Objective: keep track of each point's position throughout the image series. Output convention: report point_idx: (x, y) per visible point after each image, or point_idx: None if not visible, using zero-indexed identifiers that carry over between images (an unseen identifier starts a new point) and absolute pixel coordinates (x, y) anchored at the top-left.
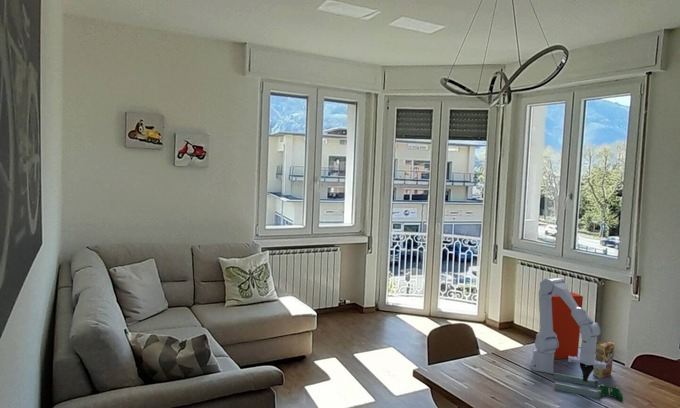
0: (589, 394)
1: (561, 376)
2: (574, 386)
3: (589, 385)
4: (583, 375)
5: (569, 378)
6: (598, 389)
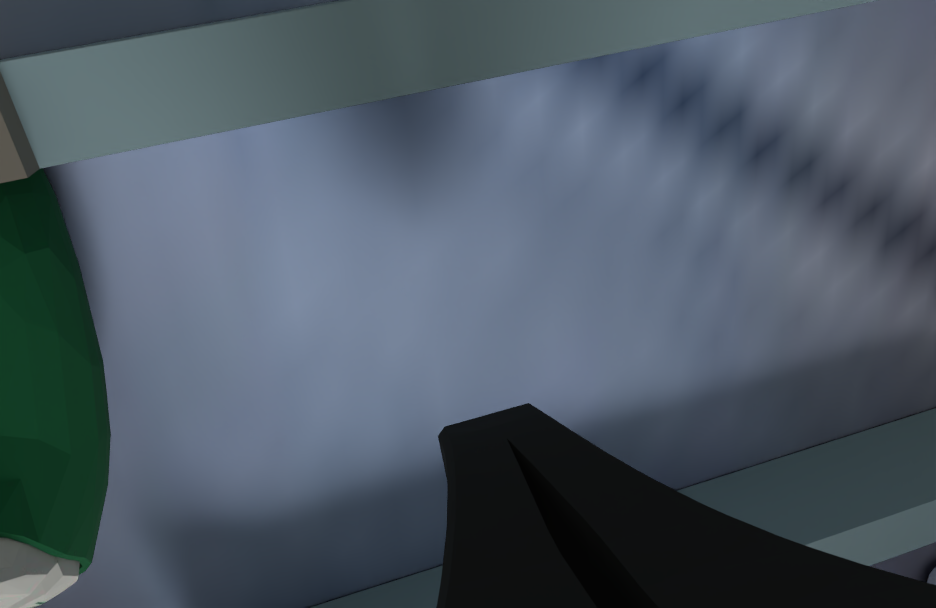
0: (262, 14)
1: (895, 481)
2: (709, 11)
3: (364, 595)
4: (639, 484)
5: (753, 522)
6: (76, 373)
